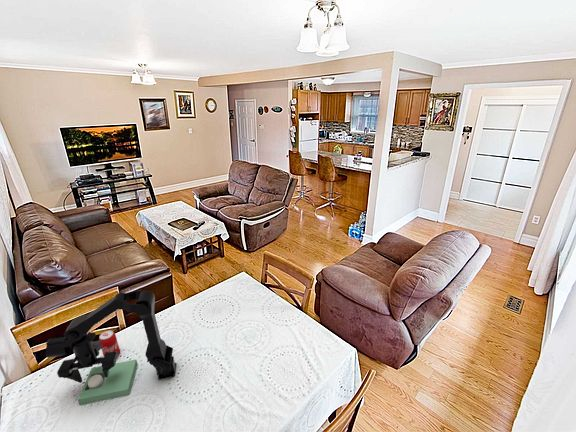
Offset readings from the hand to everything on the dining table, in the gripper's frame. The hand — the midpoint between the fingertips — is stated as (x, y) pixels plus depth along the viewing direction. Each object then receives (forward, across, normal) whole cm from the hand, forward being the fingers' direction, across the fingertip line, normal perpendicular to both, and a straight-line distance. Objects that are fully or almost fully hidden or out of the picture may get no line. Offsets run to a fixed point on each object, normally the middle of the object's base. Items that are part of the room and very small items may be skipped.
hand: (94, 379), depth 111 cm
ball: (+2, 0, 0) cm, 2 cm away
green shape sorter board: (+4, -5, 0) cm, 6 cm away
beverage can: (+4, -2, -15) cm, 16 cm away
